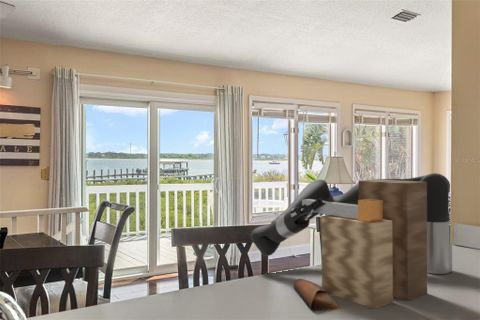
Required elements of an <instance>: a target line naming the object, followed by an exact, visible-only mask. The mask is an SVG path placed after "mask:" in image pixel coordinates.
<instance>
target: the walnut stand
mask: <svg viewBox="0 0 480 320" xmlns="http://www.w3.org/2000/svg"><path fill="white" fill-rule="evenodd" d="M358 183H359V200H363V199H377V200H383V220H390V221H392V252H393V298H398V299H401V300H404V301H406V302H409V301H411V300H414V299H417V298H420V297H422V296H424V295H427V294H428V272H427V182H420V181H398V180H376V179H368V180H366V179H365V180H358Z"/></svg>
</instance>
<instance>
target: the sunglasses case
mask: <svg viewBox="0 0 480 320" xmlns="http://www.w3.org/2000/svg"><path fill="white" fill-rule="evenodd" d="M293 288H294V289H293V290H295V291H296V293H298V294H299V295H300V297H302V299H303V300H304V302H305V303H306V304H307V305H308V307H309V308H310V309H311V310H312V311H313V312H316V311H329V310H330V311H332V310H340V309H341V307H340V306H339V305H338V303H337V302H336V301H335V300H334V299H333V298H332V296H331V294H329V293H327V292H326V290H325V289H324V288H322V286H320V285H318V284H316V283H314V282H312V281H309V280H307V279H305V278H298V279H296V280H295V281H294V282H293Z"/></svg>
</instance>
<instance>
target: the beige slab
mask: <svg viewBox="0 0 480 320" xmlns="http://www.w3.org/2000/svg"><path fill="white" fill-rule="evenodd" d="M321 287H322V288H324V289H325V290H326V292H327V293H328V294H329V295H333V296H335V297H339V298H342V299H344V300H347V301H351V302H353V303H356V304H359V305H363V306H365V307H368V308H371V309H378V308H381V307H383V306H386V305H389V304H391V303H393V302H394V301H393V300H394V299H393V298H394V297H393V252H392V221H390V220H382V221H375V222H366V221H360V220H358V219H352V218H345V217H339V216H332V215H326V214H325V215H322V216H321Z"/></svg>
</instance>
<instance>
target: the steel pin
mask: <svg viewBox="0 0 480 320" xmlns="http://www.w3.org/2000/svg"><path fill="white" fill-rule="evenodd" d="M314 201H316V200H314V199H304V200H302V206H303V205H304V204H306V205H308V204H309V203H313V202H314ZM313 213H320V214H323V215H325V216H326V215H332V216H339V217H345V218H352V219H358V220H360V221H366V222H375V221H382V220H383V200H377V199H363V200H358V205H354V204H346V203H338V202H330V201H323V205H322V206H321V207H319V208H318V209H316V210H315V211H313Z"/></svg>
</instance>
